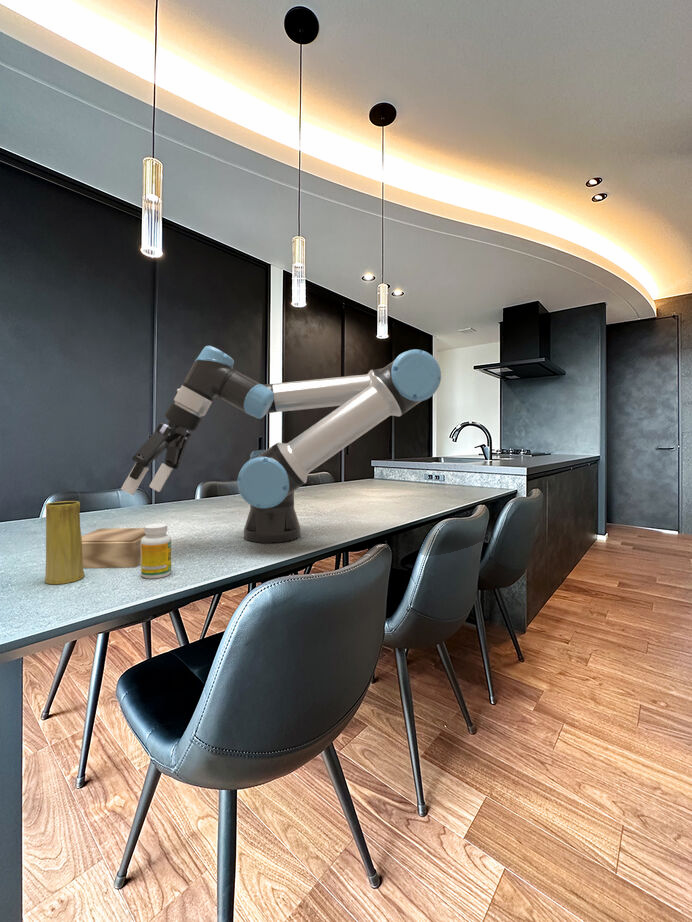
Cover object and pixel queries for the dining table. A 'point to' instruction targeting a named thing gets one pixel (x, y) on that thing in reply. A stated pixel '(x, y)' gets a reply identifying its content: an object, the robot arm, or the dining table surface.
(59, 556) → the vase
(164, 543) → the supplement bottle
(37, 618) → the dining table surface
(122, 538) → the stand
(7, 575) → the dining table surface
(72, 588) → the dining table surface
